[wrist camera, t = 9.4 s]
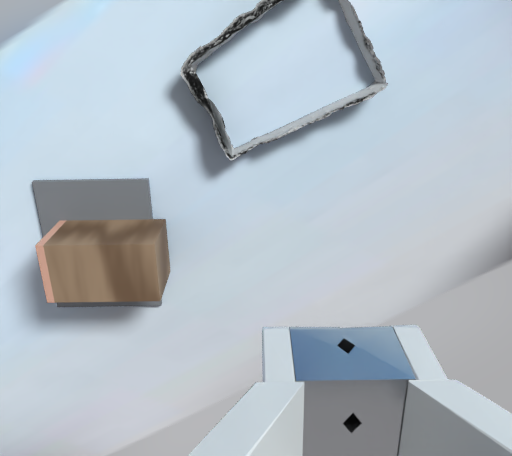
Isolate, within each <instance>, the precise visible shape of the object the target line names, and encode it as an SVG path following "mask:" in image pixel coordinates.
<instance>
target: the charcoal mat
mask: <svg viewBox="0 0 512 456" xmlns="http://www.w3.org/2000/svg"><path fill="white" fill-rule="evenodd" d="M32 185H33V189H34V194H35V199H36V204H37V209H38V214H39V219H40V224H41V229H42V234H43V237H44V236H45V235H46V234H47V233H48V232H49V231H50V230H51V229H52V228H53V227H54V226H55V225H56V224H57V223H58V222H59V221H64V220H144V219H153V216H152V206H151V197H150V188H149V179H91V180H34V181H33V182H32ZM161 304H162V300H161V301H140V302H57V307H95V306H161Z"/></svg>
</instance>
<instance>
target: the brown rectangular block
mask: <svg viewBox="0 0 512 456" xmlns="http://www.w3.org/2000/svg"><path fill="white" fill-rule="evenodd" d="M35 247H36V251H37V256H38V261H39V266H40V270H41V275H42V280H43V285H44V290H45V294H46V299H47V303H57V302H140V301H161V298H162V295H163V292H164V289H165V286H166V283H167V280H168V277H169V274H170V262H169V251H168V240H167V230H166V219H144V220H64V221H59V222H58V223H57V224H56V225H55V226H54V227H53V228H52V229H51V230H50V231H49V232H48V233H47V234H46V235H45V236H44V237H43V238H42V239H41V240H40V241H39V242H38V243H37V244H36V245H35Z"/></svg>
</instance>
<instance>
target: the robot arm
mask: <svg viewBox="0 0 512 456" xmlns="http://www.w3.org/2000/svg"><path fill="white" fill-rule="evenodd" d="M262 374H263V382H256V383H255V384H254V385H253V386H252V387H251V388H250V389H249V390H248V391H247V392H246V393H245V394H244V396H243V397H242V398H241V399H240V400H239V401H238V402H237V403H236V404H235V405H234V406H233V407H232V408H231V410H230V411H229V412H228V413H227V414H226V415H225V416H224V417H223V418H222V419H221V421H219V422H218V423H217V425H216V426H215V427H214V428H213V429H212V430H211V431H210V432H209V433H208V434H207V435H206V436H205V437H204V439H203V440H202V441H201V442H200V443H199V444H198V445H197V446H196V447H195V448H194V449H193V450H192V451H191V453H190V454H189V455H188V456H512V413H510V412H508V411H507V410H505V409H504V408H502V407H500V406H499V405H497V404H495V403H494V402H492V401H490V400H489V399H487V398H486V397H484V396H482V395H481V394H479V393H478V392H476V391H474V390H473V389H471V388H469V387H468V386H466V385H465V384H463V383H461V382H460V381H458V380H449V379H448V378H447V376H446V374H445V372H444V370H443V369H442V367H441V365H440V363H439V361H438V359H437V358H436V356H435V354H434V352H433V350H432V349H431V347H430V345H429V343H428V341H427V340H426V338H425V336H424V334H423V332H422V330H421V329H420V327H419V326H417V325H396V326H385V327H384V326H383V327H350V328H340V327H289V328H288V327H263V329H262Z"/></svg>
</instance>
